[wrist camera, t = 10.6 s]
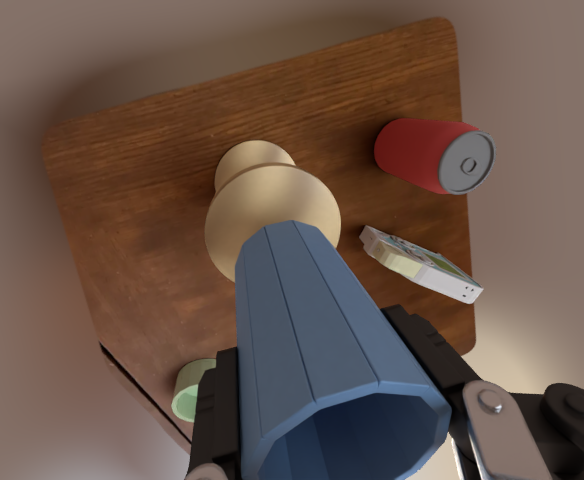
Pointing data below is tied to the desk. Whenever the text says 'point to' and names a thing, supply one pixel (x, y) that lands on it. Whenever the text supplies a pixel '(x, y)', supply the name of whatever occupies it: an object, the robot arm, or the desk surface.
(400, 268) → the handheld gaming console
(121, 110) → the desk surface
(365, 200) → the desk surface
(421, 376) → the blue cup
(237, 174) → the stand
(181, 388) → the green cup
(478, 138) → the beer can
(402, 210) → the desk surface
